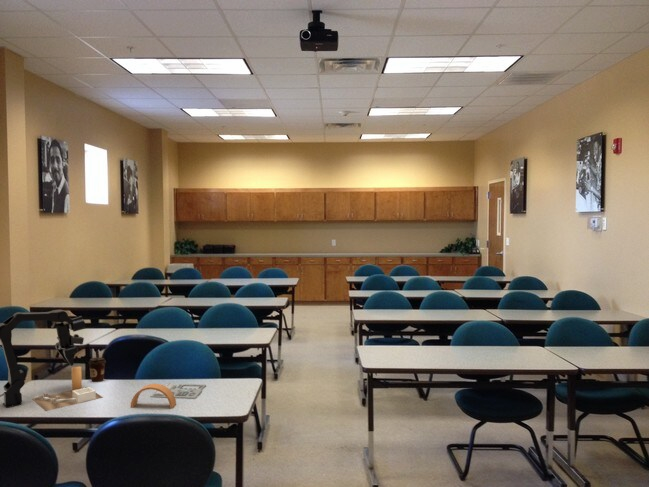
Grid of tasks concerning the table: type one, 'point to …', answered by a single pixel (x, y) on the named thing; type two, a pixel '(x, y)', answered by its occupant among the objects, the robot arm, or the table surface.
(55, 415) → the table surface
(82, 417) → the table surface
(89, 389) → the end holder
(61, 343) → the robot arm
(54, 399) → the cable board
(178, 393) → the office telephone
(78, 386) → the tan cylinder
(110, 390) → the table surface
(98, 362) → the coffee cup
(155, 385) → the arch
